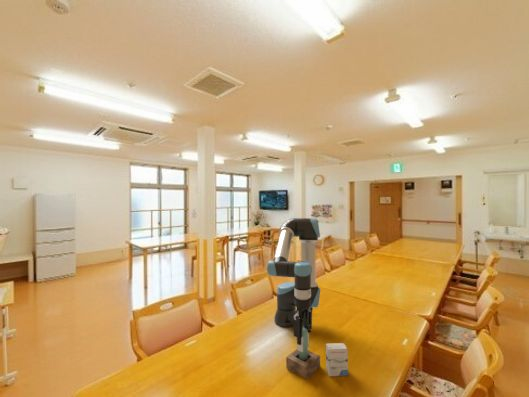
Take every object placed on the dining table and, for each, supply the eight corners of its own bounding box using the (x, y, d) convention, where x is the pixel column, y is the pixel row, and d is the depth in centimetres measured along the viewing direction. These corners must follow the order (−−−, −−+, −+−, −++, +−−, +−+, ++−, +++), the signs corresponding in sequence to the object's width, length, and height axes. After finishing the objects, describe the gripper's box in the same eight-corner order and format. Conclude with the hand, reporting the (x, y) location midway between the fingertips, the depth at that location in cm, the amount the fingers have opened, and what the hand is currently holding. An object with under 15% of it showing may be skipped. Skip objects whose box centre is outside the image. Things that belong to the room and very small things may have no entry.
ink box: (344, 368, 115) (344, 342, 115) (348, 376, 110) (348, 348, 110) (325, 368, 115) (325, 342, 115) (328, 376, 110) (328, 349, 110)
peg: (297, 360, 116) (296, 329, 116) (302, 356, 119) (301, 326, 119) (304, 364, 113) (304, 332, 113) (309, 360, 116) (309, 329, 116)
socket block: (286, 368, 116) (286, 357, 116) (299, 356, 124) (299, 346, 124) (307, 379, 108) (307, 367, 108) (320, 366, 117) (319, 355, 117)
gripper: (299, 305, 107) (299, 360, 107) (319, 293, 120) (319, 343, 120) (284, 300, 112) (285, 353, 112) (305, 290, 125) (306, 337, 125)
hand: (303, 348), depth 116 cm, fingers closed on peg, 4 cm apart
